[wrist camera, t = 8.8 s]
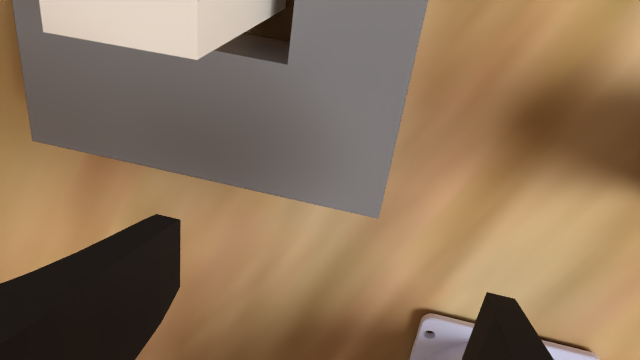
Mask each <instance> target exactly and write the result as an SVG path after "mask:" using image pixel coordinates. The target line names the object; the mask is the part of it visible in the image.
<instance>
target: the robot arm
mask: <svg viewBox="0 0 640 360" xmlns="http://www.w3.org/2000/svg"><path fill="white" fill-rule="evenodd" d="M179 288H180V220H179V219H175V218H171V217H166V216H162V215H158V214H156V215H153V216H151V217H149V218H147V219H144V220H142V221H140V222H138V223H136V224H134V225H132V226H130V227H128V228H126V229H124V230H122V231H120V232H118V233H116V234H114V235H112V236H110V237H108V238H106V239H104V240H102V241H100V242H97V243H95V244H93V245H91V246H89V247H87V248H85V249H83V250H81V251H79V252H77V253H74V254H72V255H70V256H67V257H65V258H63V259H60V260H58V261H56V262H54V263H51V264H49V265H47V266H44V267H42V268H40V269H38V270H35V271H33V272H30V273H28V274H25V275H23V276H20V277H17V278H15V279H12V280H9V281H6V282H3V283H1V284H0V360H135V359H136V357H137V356H138V355H139V353H140V352H141V350H142V349H143V348H144V346H145V345H146V343H147V342H148V341H149V339H150V338H151V336H152V335H153V333H154V332H155V331H156V329H157V328H158V326H159V325H160V323H161V322H162V320H163V318H164V316H165V314H166V313H167V311H168V309H169V307H170V305H171V303H172V301H173V299H174V297H175V295H176V294H177V292H178V290H179ZM425 331H432V332H433V333H427V332H425ZM409 360H599V357H598V356H597V355H596V354H595V353H592V352H589V351H585V350H581V349H577V348H573V347H568V346H564V345H560V344H556V343H552V342H548V341H544V340H541V339H540V337H539V336H538V334H537V333H536V331H535V329H534V328H533V326H532V325H531V323H530V322H529V320H528V319H527V317H526V315H525V314H524V312H523V311H522V309H521V307H520V306H519V304H518V303H517V301H516V300H515V299H513V298H509V297H505V296H500V295H496V294H492V293H488V292H487V293H486V296H485V298H484V301H483V304H482V306H481V309H480V312H479V314H478V317H477V320H476V322H475V324H474V323H470V322H466V321H462V320H458V319H454V318H450V317H446V316H442V315H437V314H431V313H430V314H426V315H424V316H423V317H422V319H421V322H420V325H419V328H418V332H417V335H416V338H415V341H414V345H413V348H412V351H411V354H410V358H409Z"/></svg>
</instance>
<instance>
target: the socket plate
mask: <svg viewBox="0 0 640 360" xmlns="http://www.w3.org/2000/svg"><path fill="white" fill-rule="evenodd" d="M427 2H428V0H295V1H294V10H293V19H292V29H291V38H290V42H288V41H282V40H277V39H272V38H266V37H261V36H256V35H250V34H245V33H242V34H241V35H239V36H237V37H236V38H234V39H232V40H230V41H229V42H227V43H225V44H224V45H222V46H220V47H218V48H217V49H215V50H213V51H212V52H210V53H208V54H206V55H205V56H203V57H201V58H200V59H198V60H194V59H189V58H183V57H178V56H172V55H167V54H161V53H156V52H150V51H145V50H139V49H134V48H128V47H123V46H117V45H112V44H106V43H101V42H95V41H90V40H84V39H79V38H73V37H68V36H62V35H57V34H51V33H46V32H43V26H42V19H41V11H40V4H39V0H12V4H13V11H14V18H15V25H16V32H17V39H18V46H19V52H20V59H21V66H22V73H23V80H24V87H25V94H26V101H27V108H28V114H29V121H30V128H31V135H32V141H36V142H41V143H45V144H49V145H54V146H58V147H63V148H67V149H72V150H76V151H80V152H85V153H89V154H94V155H98V156H103V157H107V158H111V159H116V160H120V161H125V162H129V163H134V164H138V165H143V166H147V167H151V168H156V169H160V170H165V171H169V172H174V173H178V174H182V175H187V176H191V177H196V178H200V179H205V180H209V181H213V182H218V183H222V184H227V185H231V186H236V187H240V188H244V189H249V190H253V191H258V192H262V193H267V194H271V195H276V196H280V197H284V198H289V199H293V200H298V201H302V202H307V203H311V204H315V205H320V206H324V207H329V208H333V209H338V210H342V211H346V212H351V213H355V214H360V215H364V216H369V217H373V218H378V219H379V214H380V210H381V205H382V201H383V197H384V192H385V188H386V183H387V179H388V175H389V170H390V166H391V161H392V157H393V153H394V148H395V144H396V139H397V135H398V130H399V126H400V122H401V117H402V113H403V108H404V104H405V100H406V95H407V91H408V86H409V82H410V77H411V73H412V69H413V64H414V60H415V55H416V51H417V47H418V42H419V38H420V33H421V29H422V25H423V20H424V16H425V11H426V7H427Z"/></svg>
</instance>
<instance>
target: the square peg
mask: <svg viewBox="0 0 640 360" xmlns="http://www.w3.org/2000/svg"><path fill="white" fill-rule="evenodd" d="M39 4H40V11H41V19H42V26H43V32H46V33H51V34H57V35H62V36H68V37H73V38H79V39H84V40H90V41H95V42H101V43H106V44H112V45H117V46H123V47H128V48H134V49H139V50H145V51H150V52H156V53H161V54H167V55H172V56H178V57H183V58H189V59H194V60H198V59H200V58H201V57H203V56H205V55H206V54H208V53H210V52H212V51H213V50H215V49H217V48H218V47H220V46H222V45H224V44H225V43H227V42H229V41H230V40H232V39H234V38H236V37H237V36H239V35H241V34H242V33H244V32H246V31H248V30H249V29H251V28H253V27H254V26H256V25H258V24H260V23H261V22H263V21H265V20H266V19H268V18H270V17H272V16H273V15H275V14H277V13H278V12H280V11H282V10H284V9H285V8H286V0H39Z"/></svg>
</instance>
